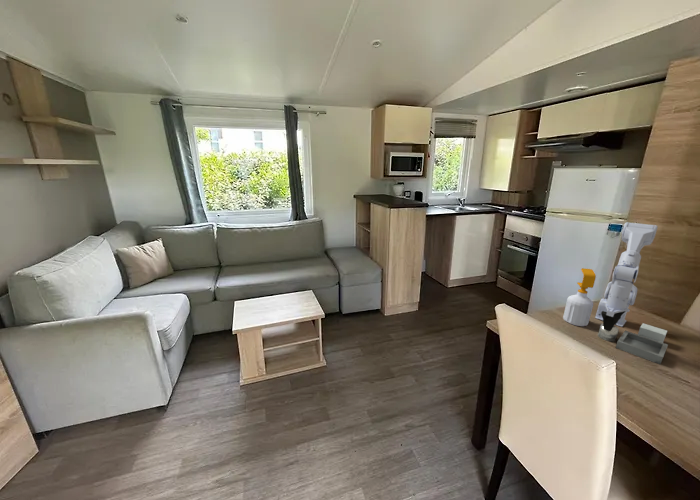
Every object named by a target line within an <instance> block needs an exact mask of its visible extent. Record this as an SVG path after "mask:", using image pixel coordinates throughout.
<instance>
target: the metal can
mask: <svg viewBox="0 0 700 500" xmlns="http://www.w3.org/2000/svg"><path fill="white" fill-rule="evenodd" d="M618 333H619V328H618V327H617V325H614V326H613V328H612V330H611V331H607V330H605V329H603V322H602V323H601V324H600V326H599V330H598V333H597V337H598V338H599V339H601V340H604V341H607V342H616V339H617V336H618Z"/></svg>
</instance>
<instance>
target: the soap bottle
mask: <svg viewBox="0 0 700 500" xmlns="http://www.w3.org/2000/svg"><path fill="white" fill-rule="evenodd" d="M580 270H581V272H582V274H583V276H582V280H581V281H582V282H581V281H580V282H576V283H577V285H578V286H579V288H580V289H579V288H578V289H577V292H576V294H572V295H569V296H568V297H567V298H566V304H565V307H564V311H563V312H564V313H563V316H562V319H563V321H565V322H566V323H569V324H571V325H573V326H578V327H585V326H586V327H587V326H588V325H589V322H590V318H591V315H592V311H593V308H594V302H593V300H592V299H591V298H590V297H588V291H587V289H589V288H591V289H593V288H594V285H595V281H596V278H597V277H596V276H597V275H596V273H595V271H594V269H592V268H584V267H583V268H581V269H580Z"/></svg>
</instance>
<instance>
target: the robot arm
mask: <svg viewBox="0 0 700 500" xmlns="http://www.w3.org/2000/svg"><path fill="white" fill-rule="evenodd" d="M658 227H659V226H658V225H656V224H646V223H637V222H629V221H626V222H624V224H623V228H622V231H621V242H624V243H626V250H625V251H623V252H621V253H620V257H619V259H618V263H617V265H615V267H614V269H613V272H612V275H611V276H612V280H611V281H610V282H608V283H607V286H606V288H605V291H604V295H603V298H601V299H600V301H599V303H598V306H597V310H596V313H595V316H594V318H595V319H597V320H601V321H602V323H603V329H605V330H607V331H611V330H612V328H613V326H618V327H622V328H623V327H624V325H625V324H626V323H627V320H626V315H627V313H629V312H630V310H631V309H630V308H629V307H630V306H633V305H634V304H635V303H636V299H637V298H636V297H637V295H638V287H637V286H636V285H634V284H635V283H636V281H637V279H638V278H637V277H638V274H639V269H640V263H641V259H642V255H641V254H640V253H641V250H642V249H643V248H644V247H645V246H651V244H653V243H654V240H655V237H656V234H657V231H658Z"/></svg>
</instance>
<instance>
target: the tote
mask: <svg viewBox="0 0 700 500" xmlns="http://www.w3.org/2000/svg"><path fill="white" fill-rule="evenodd" d="M668 346H669V344H667V343H664V342H663V343H662V342H659V341H656V340H653V339H650V338H647V337H644V336H641V335H638V333H634V332H631V331H629V330H623V333H622V334H621V336H620V337H619V338H618V340H617V342H616V345H615V349H618V350H620V351H623V352H626V353H628V354H630V355H634V356H636V357H639V358H641V359H645V360H648V361H650V362H652V363H655V364H658V365H662V361H663V360H664V359H663V358H664V356H665V355H666V351H667V349H668Z"/></svg>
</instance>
